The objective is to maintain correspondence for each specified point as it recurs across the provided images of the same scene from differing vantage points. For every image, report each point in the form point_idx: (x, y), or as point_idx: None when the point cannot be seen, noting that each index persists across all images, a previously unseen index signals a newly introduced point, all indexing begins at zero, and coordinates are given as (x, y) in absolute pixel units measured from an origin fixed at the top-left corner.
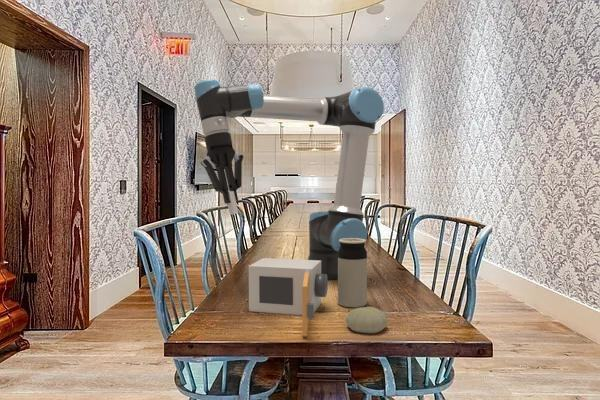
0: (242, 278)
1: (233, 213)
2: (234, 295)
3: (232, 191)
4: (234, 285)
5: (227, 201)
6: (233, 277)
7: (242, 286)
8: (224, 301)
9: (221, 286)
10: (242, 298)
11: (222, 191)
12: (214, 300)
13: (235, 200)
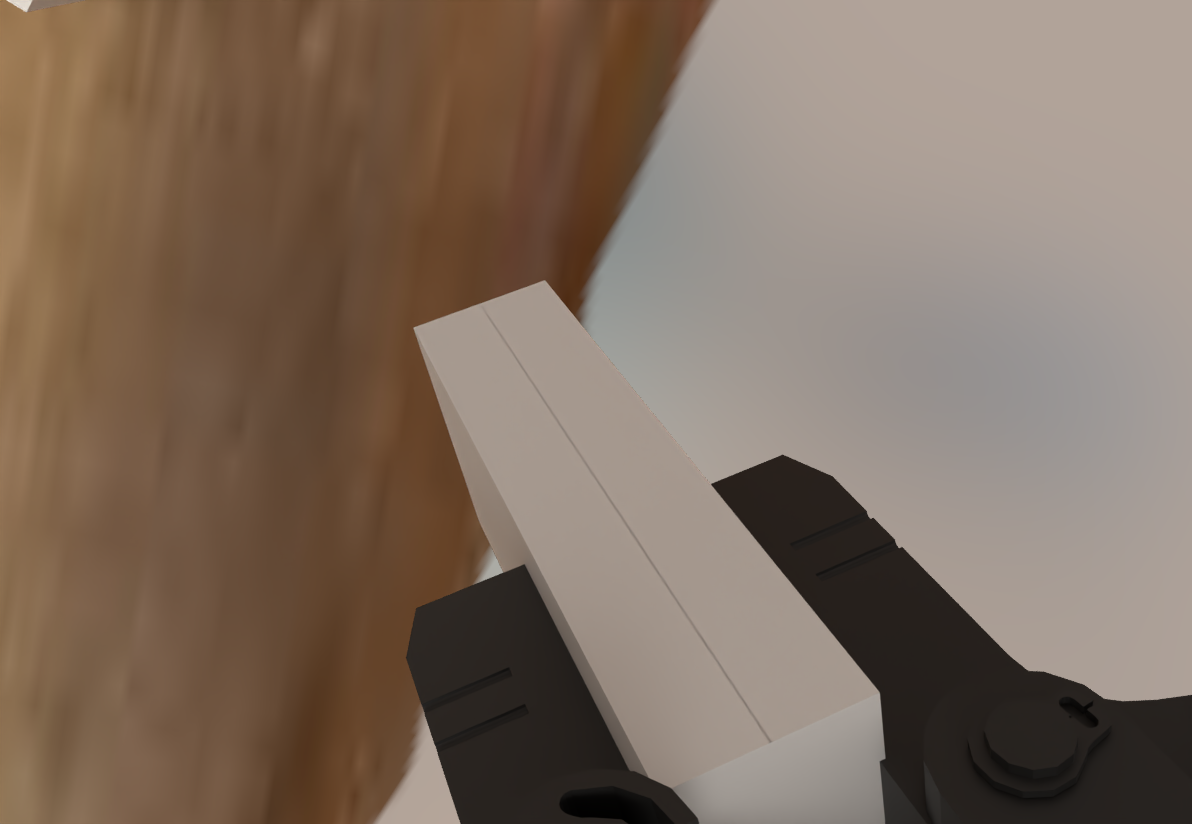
0: (248, 770)
1: (553, 299)
2: (408, 216)
3: (713, 757)
4: (356, 554)
5: (796, 493)
6: (325, 817)
7: (288, 503)
8: (529, 41)
9: (475, 548)
10: (350, 86)
11: (1151, 708)
12: (608, 107)
13: (527, 519)
